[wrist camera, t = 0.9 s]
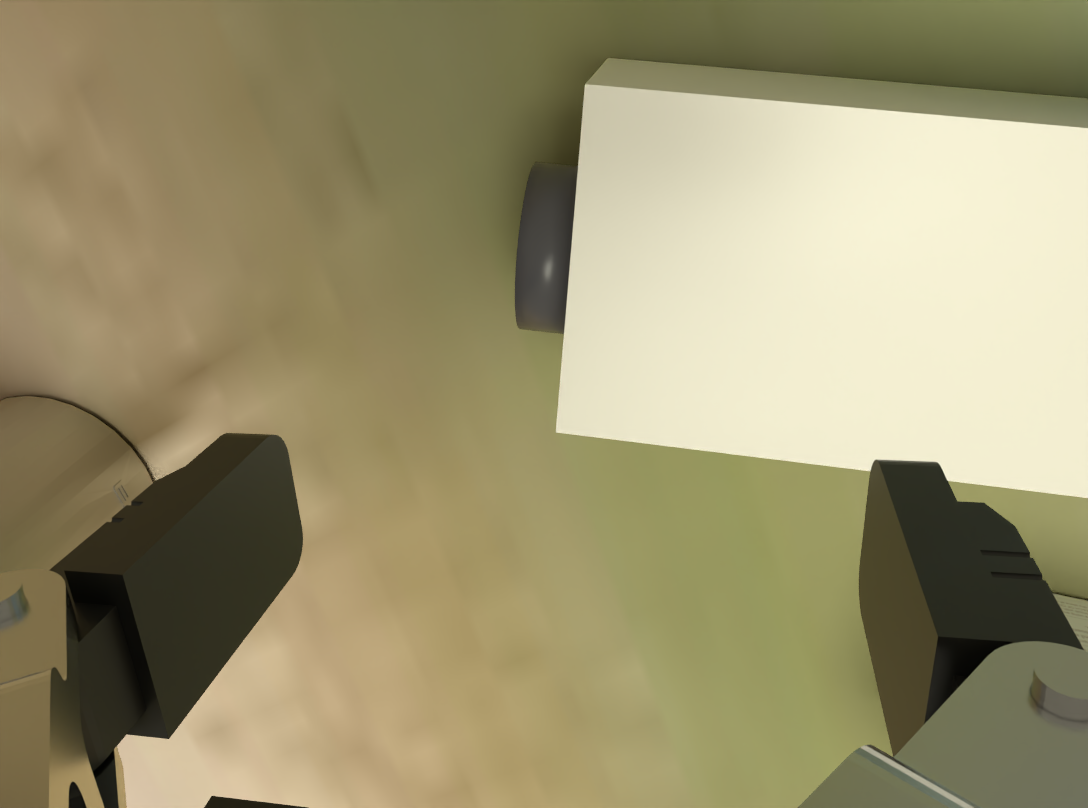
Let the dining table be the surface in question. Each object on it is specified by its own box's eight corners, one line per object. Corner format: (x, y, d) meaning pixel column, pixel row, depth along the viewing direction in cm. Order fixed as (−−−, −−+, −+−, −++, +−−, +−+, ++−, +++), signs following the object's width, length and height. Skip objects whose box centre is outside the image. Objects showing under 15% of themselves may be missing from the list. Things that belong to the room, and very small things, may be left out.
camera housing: (539, 327, 33) (495, 438, 25) (558, 53, 29) (512, 82, 21) (1158, 397, 31) (1325, 541, 23) (1275, 114, 27) (1527, 170, 19)
